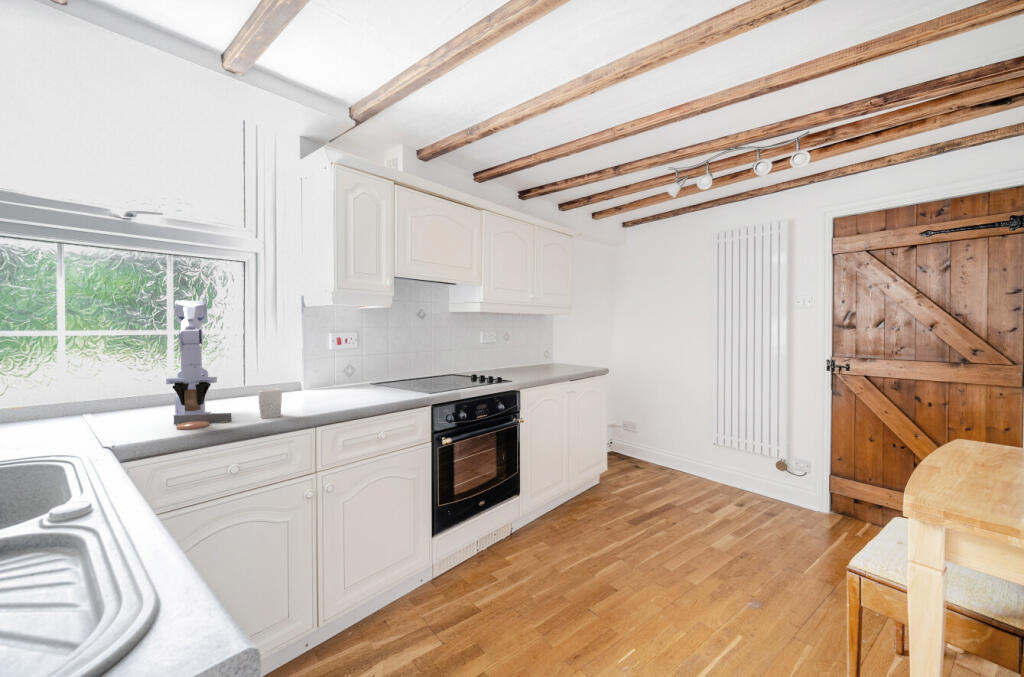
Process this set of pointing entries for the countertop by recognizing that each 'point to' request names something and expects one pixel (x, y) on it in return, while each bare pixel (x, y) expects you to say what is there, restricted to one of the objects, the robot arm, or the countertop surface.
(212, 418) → the smoky grey fence
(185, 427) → the terracotta coaster
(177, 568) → the countertop surface
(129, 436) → the countertop surface
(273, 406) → the white cup
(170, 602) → the countertop surface
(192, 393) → the walnut peg
